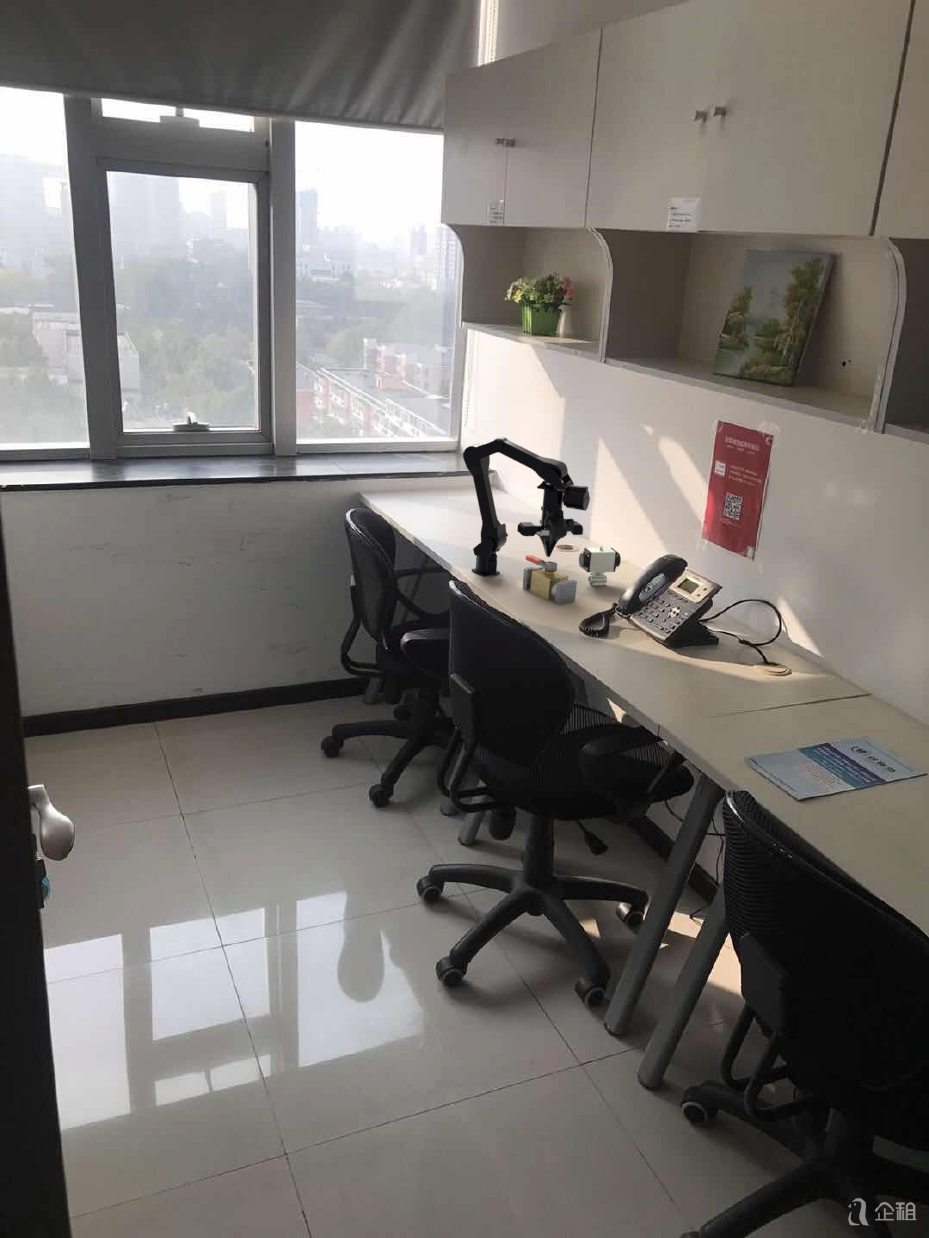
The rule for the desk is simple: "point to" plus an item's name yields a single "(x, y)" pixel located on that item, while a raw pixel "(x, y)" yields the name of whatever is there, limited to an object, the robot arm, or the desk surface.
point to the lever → (543, 563)
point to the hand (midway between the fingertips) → (548, 556)
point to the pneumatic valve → (599, 563)
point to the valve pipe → (549, 585)
